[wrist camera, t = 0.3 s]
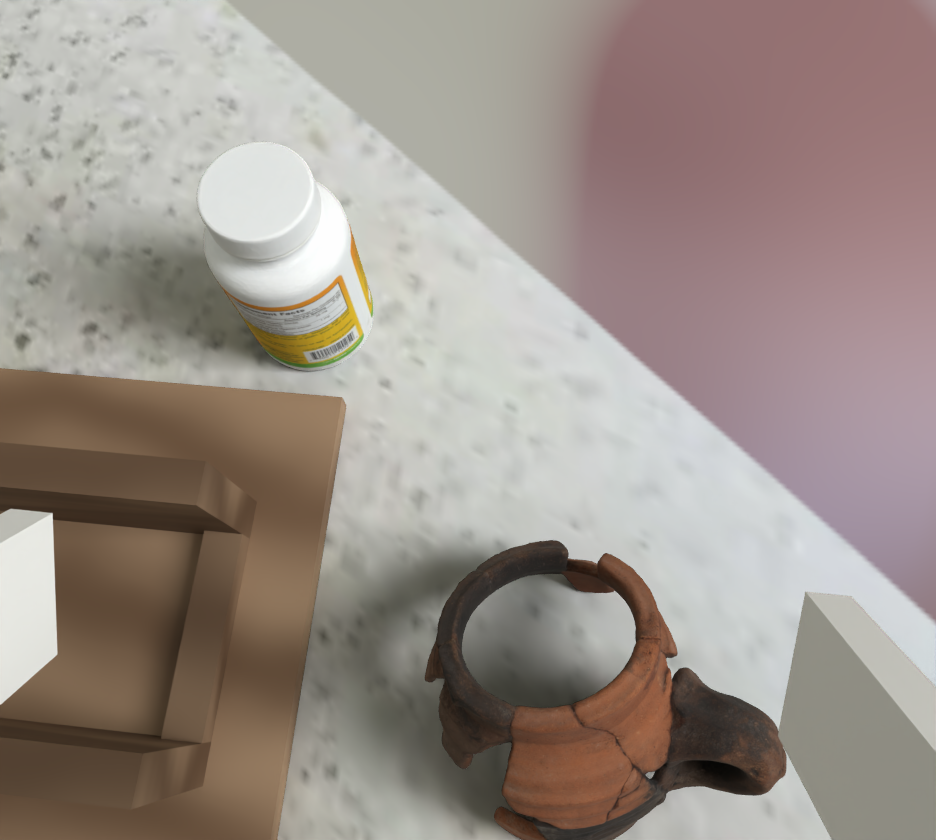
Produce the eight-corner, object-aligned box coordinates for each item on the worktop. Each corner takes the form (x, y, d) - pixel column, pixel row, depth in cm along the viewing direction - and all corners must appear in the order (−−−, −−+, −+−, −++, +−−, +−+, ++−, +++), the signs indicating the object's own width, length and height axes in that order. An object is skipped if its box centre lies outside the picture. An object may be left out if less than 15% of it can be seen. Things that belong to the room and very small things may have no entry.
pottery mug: (424, 841, 29) (367, 732, 24) (493, 624, 36) (460, 500, 30) (773, 933, 25) (799, 828, 20) (779, 670, 32) (800, 538, 26)
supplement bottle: (285, 251, 37) (216, 105, 28) (393, 284, 36) (359, 146, 27) (236, 353, 35) (145, 233, 26) (348, 389, 35) (295, 280, 25)
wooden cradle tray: (261, 939, 28) (188, 1016, 21) (-170, 884, 29) (-368, 941, 22) (346, 405, 34) (310, 337, 28) (-10, 375, 35) (-126, 301, 29)
